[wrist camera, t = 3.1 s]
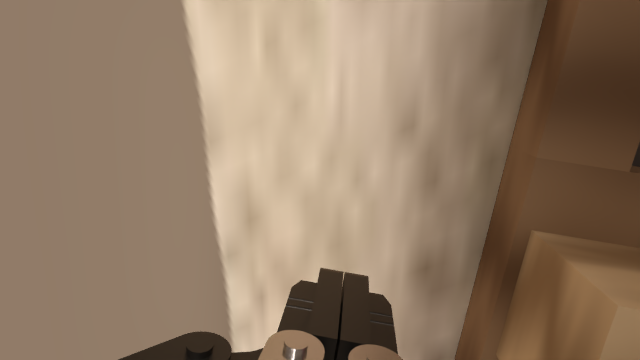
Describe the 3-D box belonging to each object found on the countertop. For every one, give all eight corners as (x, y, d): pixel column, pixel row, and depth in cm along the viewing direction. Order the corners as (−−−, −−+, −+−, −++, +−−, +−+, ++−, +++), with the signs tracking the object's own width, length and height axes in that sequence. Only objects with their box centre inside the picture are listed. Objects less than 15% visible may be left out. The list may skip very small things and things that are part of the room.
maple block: (531, 230, 14) (618, 305, 10) (681, 255, 14) (848, 346, 9) (495, 354, 16) (556, 477, 11) (633, 379, 15) (758, 517, 11)
